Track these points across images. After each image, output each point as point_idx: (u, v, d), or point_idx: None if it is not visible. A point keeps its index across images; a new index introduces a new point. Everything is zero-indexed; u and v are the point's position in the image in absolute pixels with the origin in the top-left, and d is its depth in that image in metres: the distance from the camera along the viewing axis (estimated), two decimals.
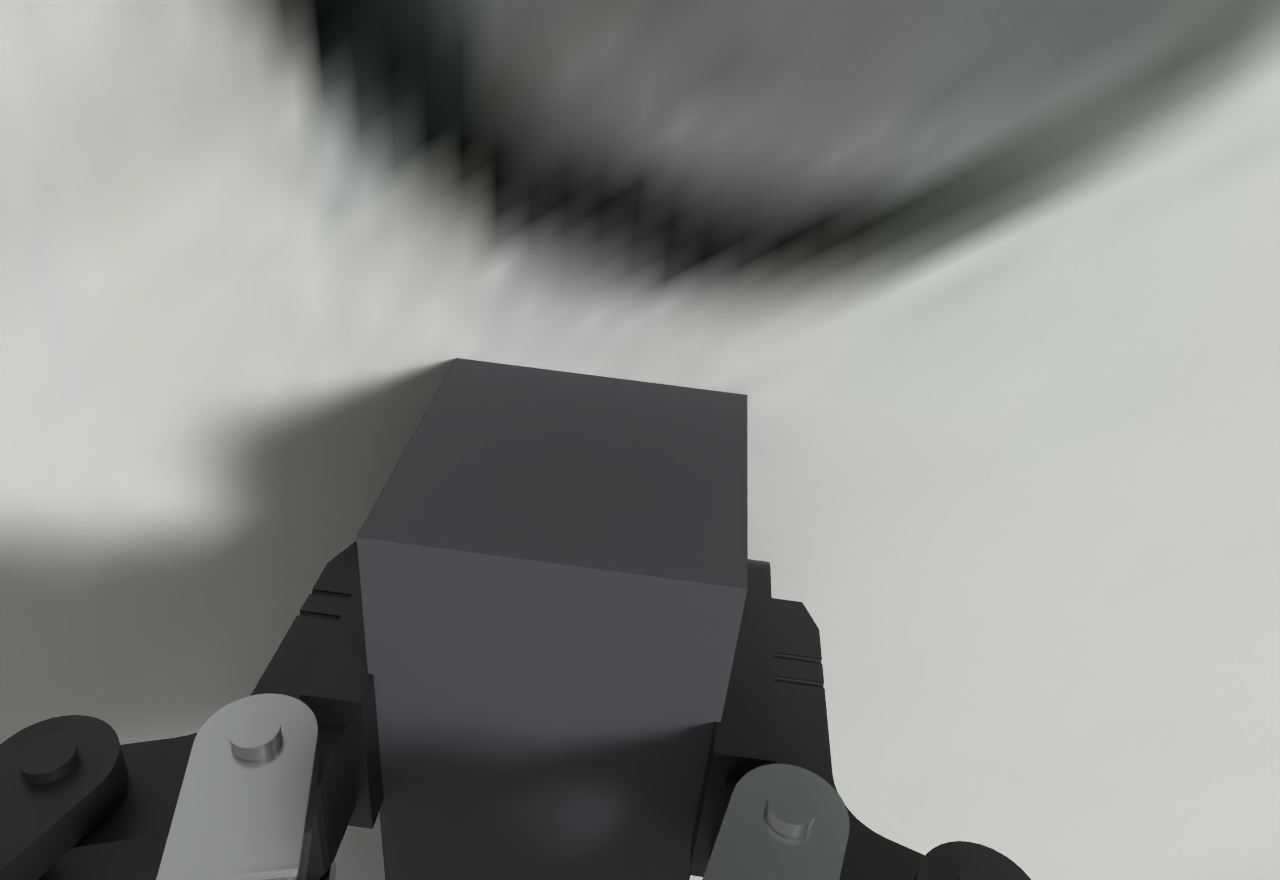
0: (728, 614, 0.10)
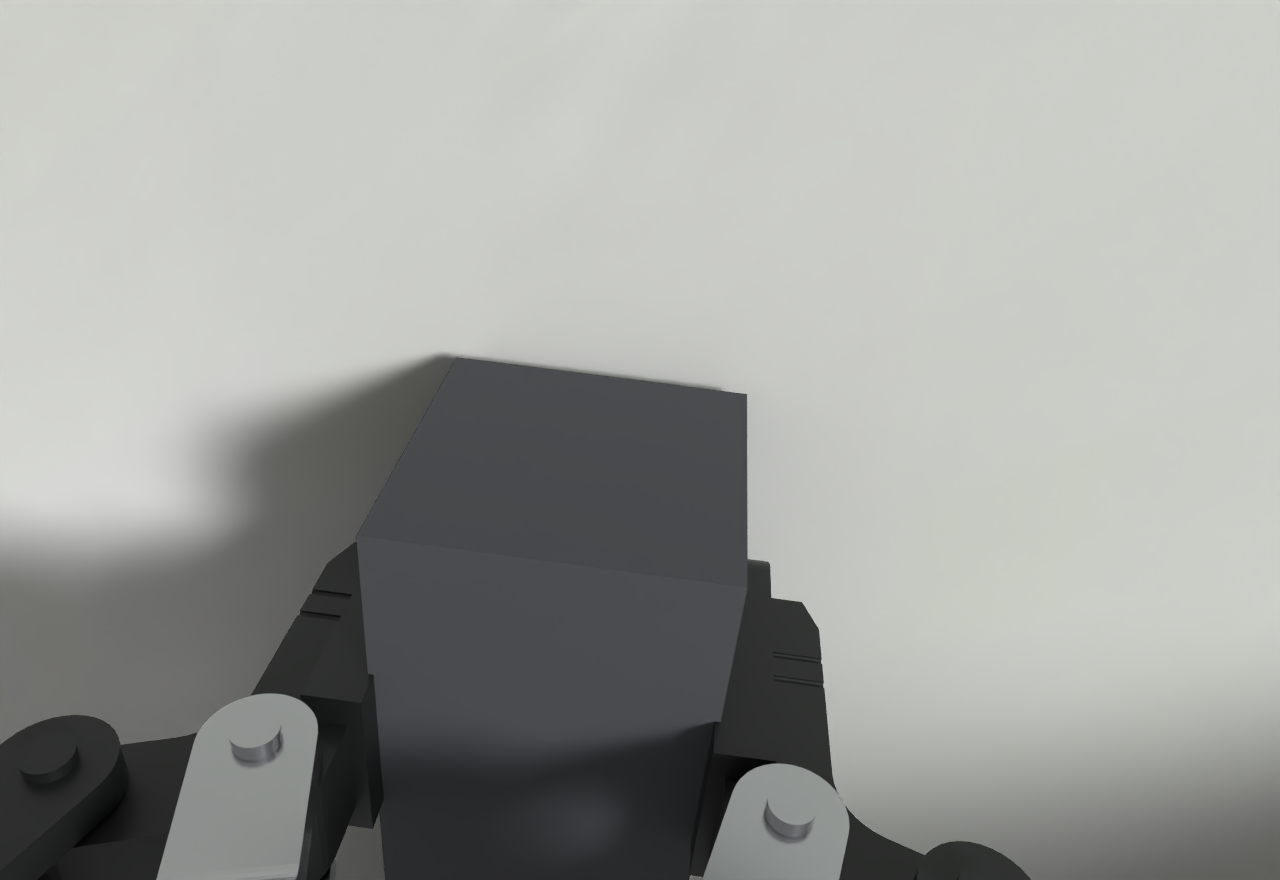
0: (728, 613, 0.10)
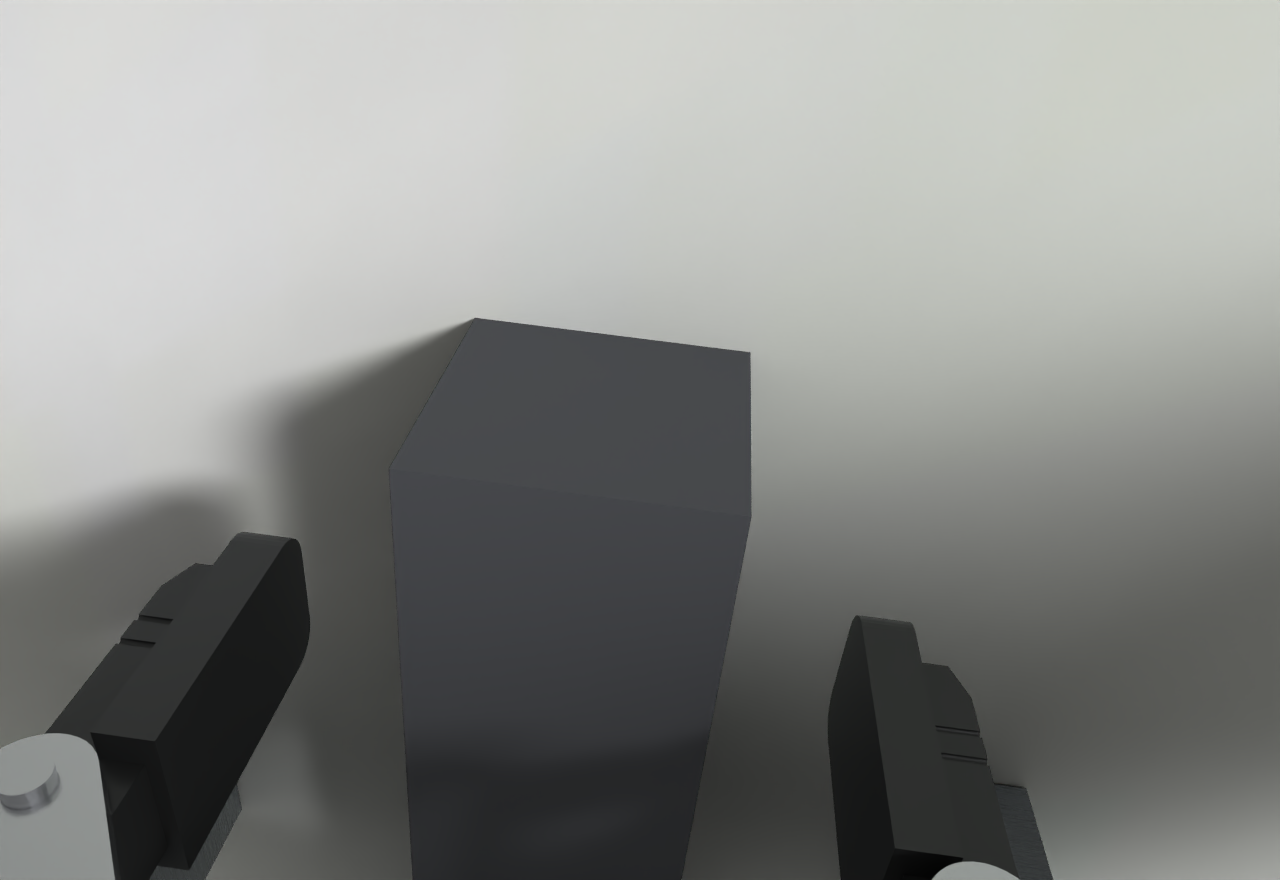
0: (733, 541, 0.11)
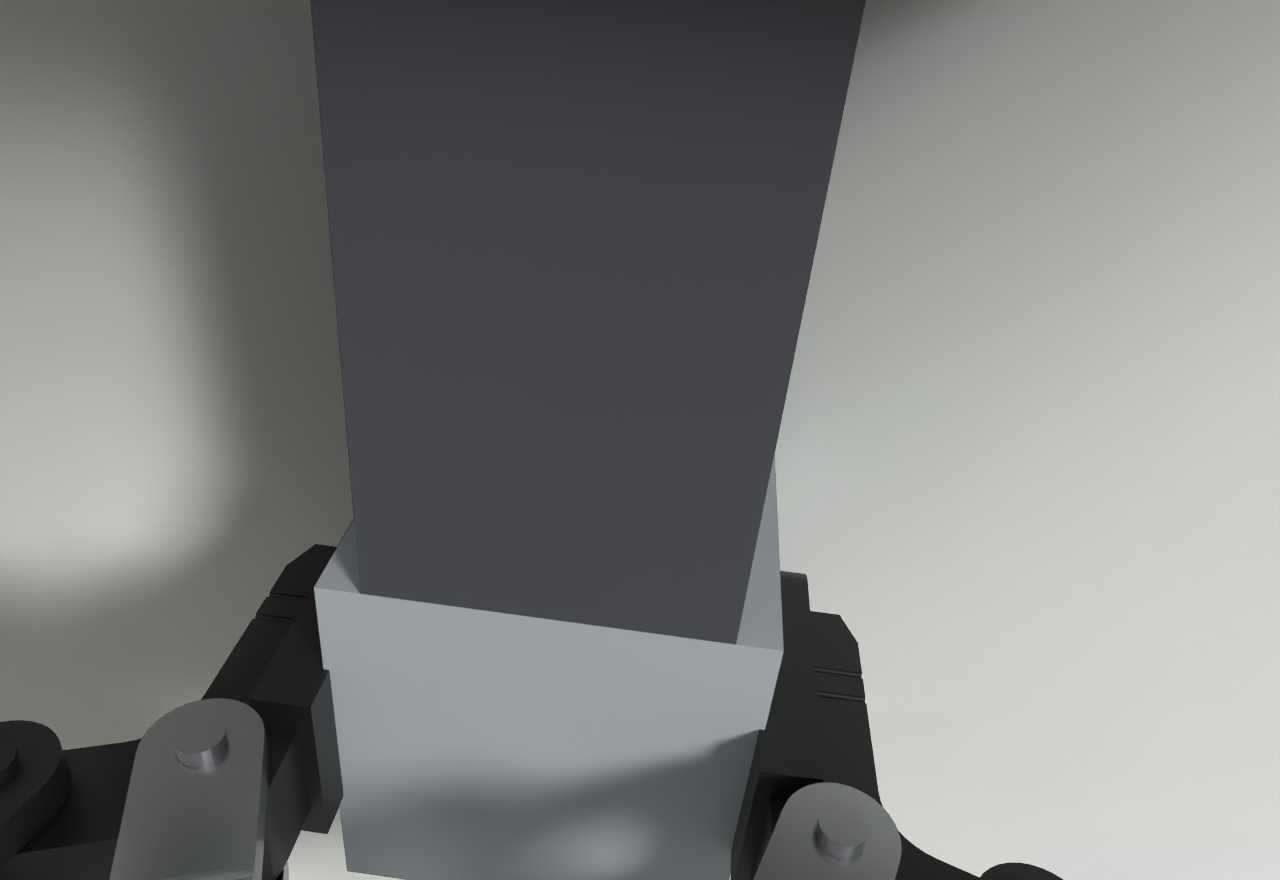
0: None
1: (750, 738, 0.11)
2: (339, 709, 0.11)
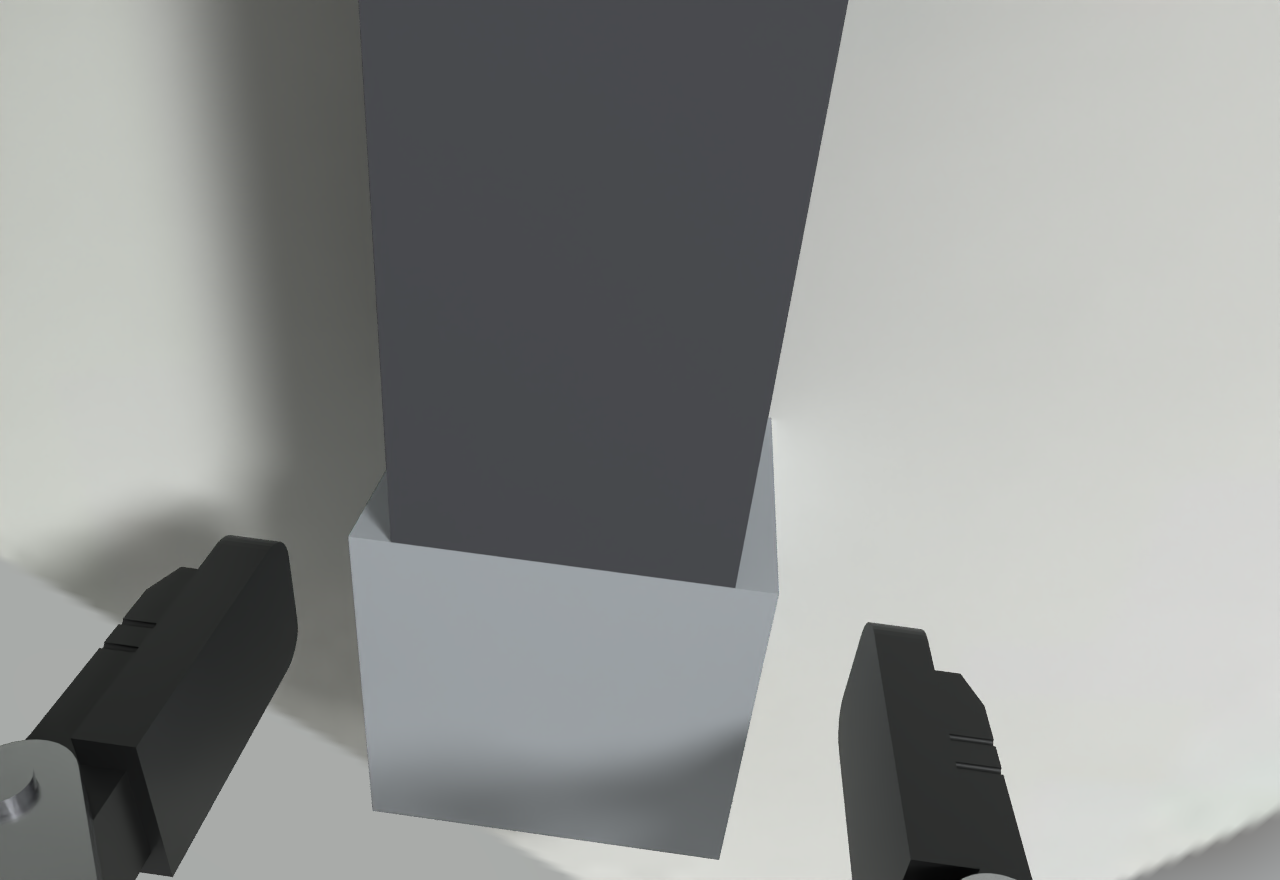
0: None
1: (749, 678, 0.12)
2: (369, 653, 0.12)
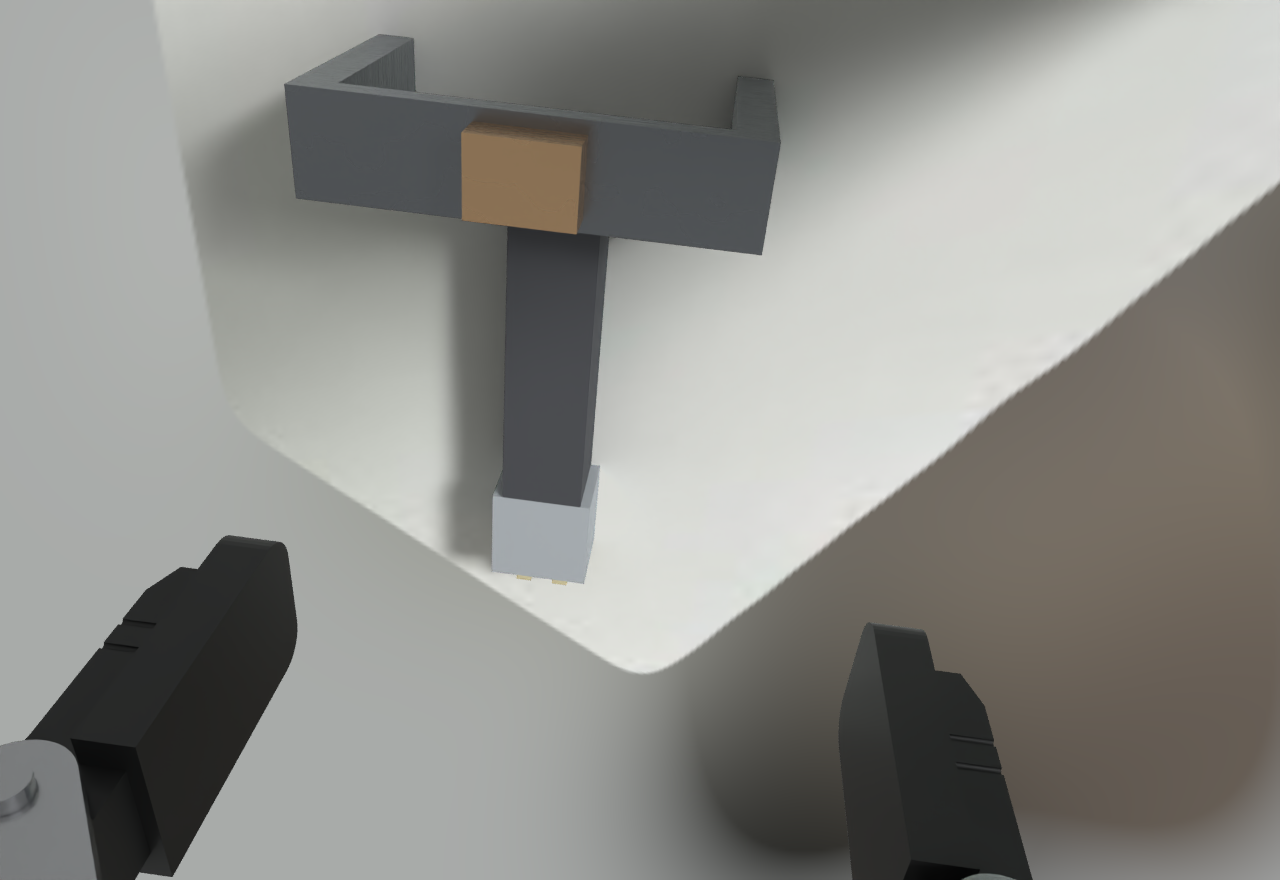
0: None
1: (585, 529, 0.49)
2: (495, 524, 0.50)
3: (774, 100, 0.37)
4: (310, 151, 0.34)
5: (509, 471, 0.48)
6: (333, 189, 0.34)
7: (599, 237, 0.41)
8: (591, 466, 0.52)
